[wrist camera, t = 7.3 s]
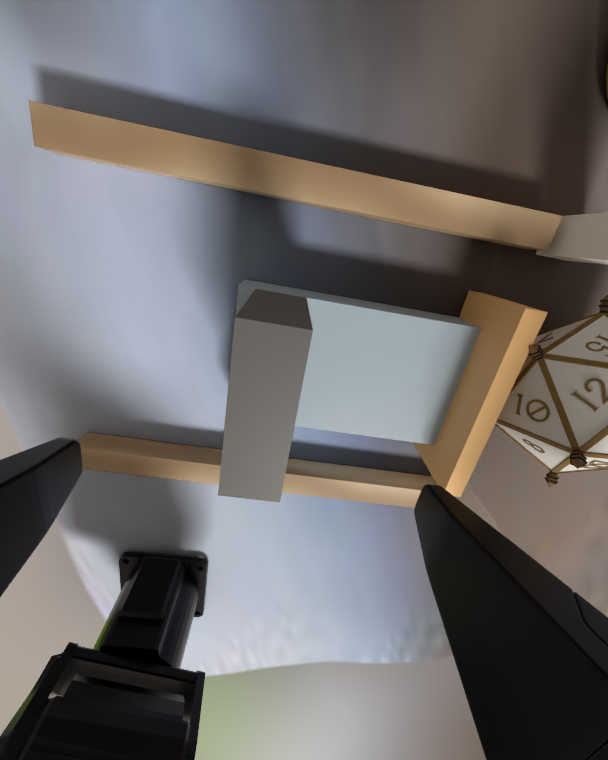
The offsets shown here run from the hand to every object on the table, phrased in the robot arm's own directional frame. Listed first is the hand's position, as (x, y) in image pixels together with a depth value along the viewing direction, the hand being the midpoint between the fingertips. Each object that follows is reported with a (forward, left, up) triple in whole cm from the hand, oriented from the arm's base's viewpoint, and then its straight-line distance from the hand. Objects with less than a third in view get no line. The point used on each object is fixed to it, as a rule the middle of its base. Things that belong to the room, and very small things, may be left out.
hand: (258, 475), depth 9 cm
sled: (0, -4, -11) cm, 12 cm away
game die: (+1, -15, -11) cm, 19 cm away
